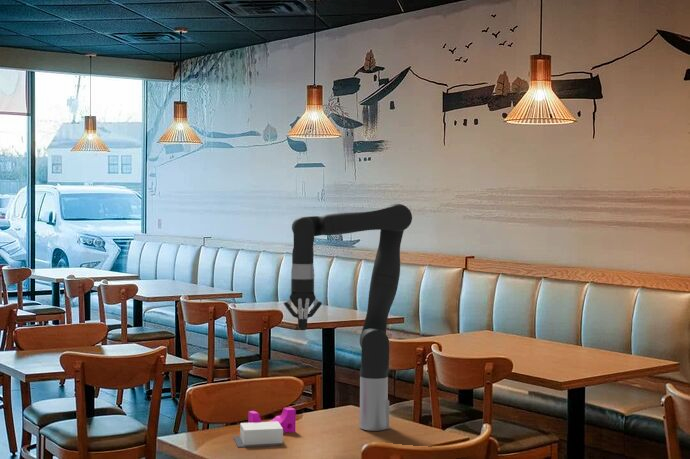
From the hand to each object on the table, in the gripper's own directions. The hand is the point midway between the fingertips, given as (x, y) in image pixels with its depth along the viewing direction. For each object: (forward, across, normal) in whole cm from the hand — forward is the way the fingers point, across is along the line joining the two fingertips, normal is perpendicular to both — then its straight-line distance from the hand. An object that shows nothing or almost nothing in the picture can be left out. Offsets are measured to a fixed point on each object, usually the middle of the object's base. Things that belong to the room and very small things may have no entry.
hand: (302, 330), depth 297 cm
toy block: (+33, +10, +1) cm, 35 cm away
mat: (+33, +16, +12) cm, 39 cm away
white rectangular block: (+30, +9, +12) cm, 34 cm away
